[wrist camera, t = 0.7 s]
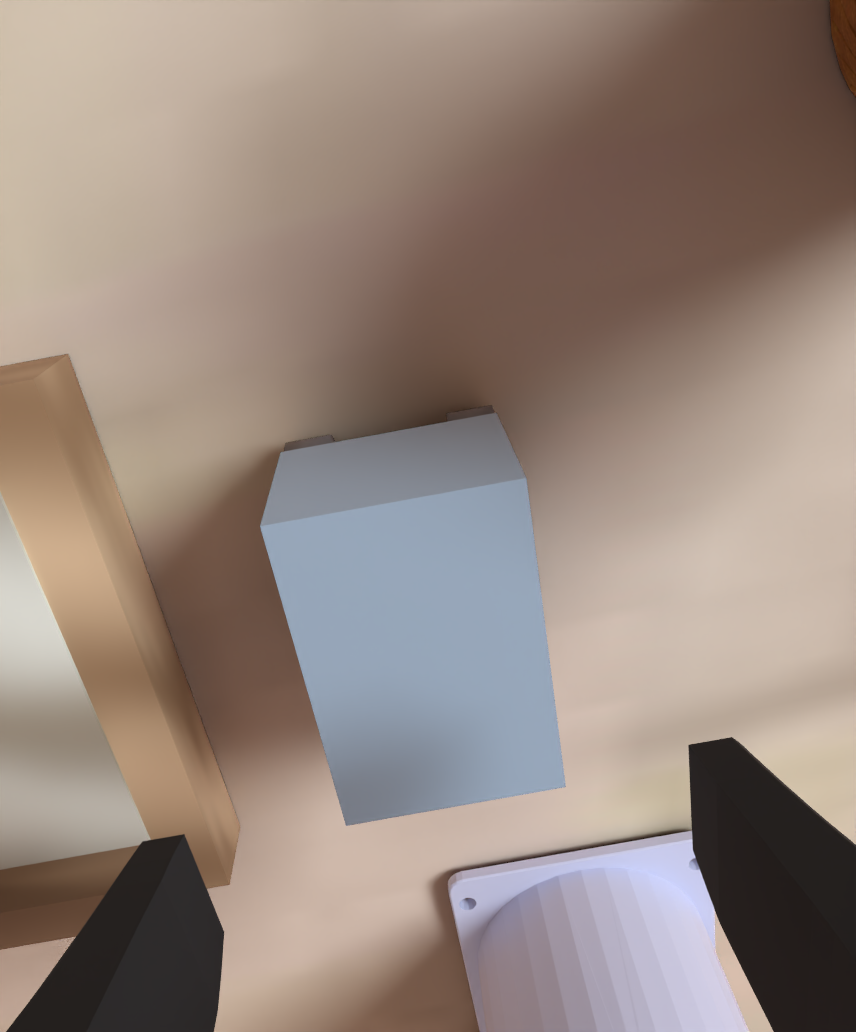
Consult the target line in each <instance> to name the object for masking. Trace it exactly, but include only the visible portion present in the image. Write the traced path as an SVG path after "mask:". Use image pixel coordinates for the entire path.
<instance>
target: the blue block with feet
mask: <svg viewBox="0 0 856 1032" xmlns="http://www.w3.org/2000/svg"><path fill="white" fill-rule="evenodd" d="M446 416H447V422H443V423H437V424H432V425H426V426H421V427H415V428H410V429H404V430H399V431H394V432H388V433H383V434H377V435H372V436H366V437H361V438H355V439H350V440H344V441H339V442H335V440H334V438H333V436H332V435H326V436H321V437H315V438H310V439H304V440H299V441H293V442H288V443H286V444H285V447H284V452H281V453H280V456H279V460H278V464H277V467H276V471H275V474H274V478H273V481H272V485H271V489H270V492H269V496H268V499H267V503H266V507H265V510H264V514H263V517H262V521H261V525H260V528H261V532H262V535H263V539H264V542H265V546H266V549H267V553H268V556H269V559H270V563H271V566H272V570H273V573H274V577H275V580H276V584H277V587H278V591H279V594H280V598H281V601H282V605H283V608H284V612H285V615H286V619H287V622H288V625H289V629H290V632H291V636H292V639H293V643H294V646H295V650H296V653H297V657H298V660H299V664H300V667H301V671H302V674H303V678H304V681H305V685H306V688H307V691H308V695H309V698H310V702H311V705H312V709H313V712H314V716H315V719H316V723H317V726H318V730H319V733H320V737H321V740H322V744H323V747H324V751H325V754H326V758H327V761H328V764H329V768H330V771H331V775H332V778H333V782H334V785H335V789H336V792H337V796H338V799H339V803H340V806H341V810H342V813H343V817H344V820H345V824H346V826H348V825H353V824H359V823H365V822H370V821H376V820H382V819H387V818H393V817H399V816H404V815H410V814H416V813H421V812H427V811H433V810H438V809H444V808H450V807H455V806H461V805H466V804H472V803H478V802H483V801H489V800H495V799H500V798H506V797H512V796H517V795H523V794H529V793H534V792H540V791H546V790H551V789H557V788H562V787H566V786H565V778H564V770H563V762H562V754H561V746H560V738H559V730H558V723H557V715H556V707H555V699H554V691H553V683H552V675H551V668H550V660H549V652H548V644H547V636H546V628H545V620H544V612H543V605H542V597H541V589H540V581H539V573H538V565H537V557H536V550H535V542H534V534H533V526H532V518H531V510H530V502H529V494H528V487H527V479H526V476H525V474H524V472H523V469H522V467H521V465H520V463H519V461H518V459H517V456H516V454H515V452H514V450H513V448H512V445H511V443H510V441H509V439H508V437H507V435H506V432H505V430H504V428H503V426H502V424H501V421H500V419H499V417H498V415H497V413H494V410H493V407H492V405H490V406H484V407H479V408H474V409H468V410H463V411H457V412H452V413H446Z"/></svg>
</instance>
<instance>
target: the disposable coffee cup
mask: <svg viewBox="0 0 856 1032" xmlns="http://www.w3.org/2000/svg"><path fill="white" fill-rule="evenodd" d="M830 16H831V34H832V39H833V43H834V47H835V51H836V54H837V58H838V62H839V66H840V70H841V72H842V74H843V76H844V78H845V80H846V83H847V85H848V87H849V89H850V90H851V92H852V93H853V94H854V96H855V97H856V0H830Z"/></svg>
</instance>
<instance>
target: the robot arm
mask: <svg viewBox="0 0 856 1032" xmlns="http://www.w3.org/2000/svg"><path fill="white" fill-rule="evenodd" d="M689 767H690V792H691V818H692V831H687V832H681V833H675V834H670V835H664V836H658V837H652V838H647V839H641V840H635V841H630V842H624V843H618V844H613V845H607V846H601V847H596V848H590V849H584V850H579V851H573V852H567V853H562V854H556V855H550V856H545V857H539V858H533V859H528V860H522V861H516V862H510V863H505V864H499V865H493V866H488V867H482V868H476V869H471V870H465V871H460V872H457V873H455V874H454V875H452V876H451V877H450V879H449V880H448V892H449V898H450V902H451V907H452V911H453V915H454V920H455V924H456V929H457V933H458V938H459V942H460V946H461V951H462V955H463V960H464V964H465V969H466V973H467V978H468V982H469V986H470V991H471V995H472V1000H473V1004H474V1009H475V1013H476V1017H477V1022H478V1026H479V1031H480V1032H749V1030H748V1027H747V1025H746V1023H745V1020H744V1018H743V1016H742V1013H741V1011H740V1008H739V1006H738V1004H737V1001H736V999H735V997H734V994H733V992H732V990H731V987H730V985H729V983H728V980H727V978H726V975H725V973H724V971H723V968H722V966H721V964H720V961H719V959H718V957H717V954H716V952H715V919H714V909H715V912H716V914H717V917H718V919H719V922H720V924H721V926H722V928H723V930H724V932H725V934H726V937H727V939H728V941H729V943H730V945H731V947H732V949H733V951H734V953H735V955H736V957H737V959H738V961H739V963H740V965H741V967H742V969H743V971H744V973H745V975H746V977H747V979H748V981H749V983H750V985H751V987H752V989H753V991H754V993H755V995H756V997H757V999H758V1001H759V1003H760V1005H761V1007H762V1009H763V1011H764V1013H765V1015H766V1017H767V1019H768V1021H769V1023H770V1025H771V1027H772V1029H773V1031H774V1032H856V845H855V844H854V843H853V842H852V841H850V840H849V839H848V838H847V837H846V836H844V835H843V834H842V833H841V832H840V831H838V830H837V829H836V828H835V827H833V826H832V825H831V824H830V823H829V822H827V821H826V820H825V819H824V818H823V817H822V816H820V815H819V814H818V813H817V812H816V811H815V810H813V809H812V808H811V807H810V806H809V805H808V804H806V803H805V802H804V801H803V800H802V799H801V798H800V797H799V796H797V795H796V794H795V793H794V792H793V791H792V790H791V789H789V788H788V787H787V786H786V785H785V784H784V783H783V782H782V781H781V780H779V779H778V778H777V777H776V776H775V775H774V774H773V773H772V772H771V771H770V770H768V769H767V768H766V767H765V766H764V765H763V764H762V763H761V762H760V761H759V760H758V759H756V758H755V757H754V756H753V755H752V754H751V753H750V752H749V751H748V750H747V749H746V748H745V747H744V746H742V745H741V744H740V743H739V742H738V741H736V740H735V739H733V738H732V737H731V738H725V739H720V740H714V741H708V742H703V743H697V744H691V745H689ZM694 858H695V859H694ZM692 859H693V860H692ZM465 898H469V899H465ZM223 940H224V931H223V928H222V926H221V923H220V921H219V918H218V916H217V913H216V911H215V909H214V906H213V904H212V901H211V899H210V896H209V894H208V891H207V889H206V886H205V884H204V881H203V879H202V876H201V874H200V871H199V869H198V867H197V864H196V862H195V859H194V857H193V854H192V852H191V849H190V847H189V844H188V842H187V839H186V837H185V834H182V835H176V836H171V837H165V838H159V839H154V840H148V841H142V843H141V844H140V845H139V847H138V848H137V849H136V851H135V852H134V854H133V855H132V857H131V858H130V859H129V861H128V862H127V864H126V865H125V866H124V868H123V869H122V871H121V872H120V874H119V875H118V877H117V878H116V880H115V881H114V882H113V884H112V885H111V887H110V888H109V890H108V891H107V893H106V894H105V896H104V897H103V899H102V900H101V901H100V903H99V904H98V906H97V907H96V909H95V910H94V912H93V913H92V915H91V916H90V917H89V919H88V920H87V922H86V923H85V925H84V926H83V928H82V929H81V930H80V932H79V933H78V935H77V936H76V938H75V939H74V940H73V942H72V943H71V945H70V946H69V947H68V949H67V950H66V952H65V953H64V954H63V956H62V957H61V959H60V960H59V961H58V963H57V964H56V966H55V967H54V968H53V970H52V971H51V973H50V974H49V975H48V977H47V978H46V980H45V981H44V982H43V984H42V985H41V987H40V988H39V989H38V991H37V992H36V993H35V995H34V996H33V997H32V999H31V1000H30V1001H29V1003H28V1004H27V1005H26V1007H25V1008H24V1009H23V1011H22V1012H21V1013H20V1014H19V1016H18V1017H17V1018H16V1020H15V1021H14V1022H13V1024H12V1025H11V1026H10V1027H9V1029H8V1030H7V1031H6V1032H214V1027H215V1022H216V1016H217V1011H218V1002H219V991H220V981H221V969H222V954H223Z"/></svg>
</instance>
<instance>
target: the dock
mask: <svg viewBox="0 0 856 1032" xmlns="http://www.w3.org/2000/svg"><path fill="white" fill-rule="evenodd" d="M239 831H240V825H239V822H238V820H237V817H236V814H235V811H234V809H233V806H232V803H231V800H230V798H229V795H228V792H227V789H226V787H225V784H224V781H223V778H222V776H221V773H220V770H219V767H218V765H217V762H216V759H215V756H214V754H213V751H212V748H211V745H210V743H209V740H208V737H207V734H206V732H205V729H204V726H203V723H202V721H201V718H200V715H199V712H198V710H197V707H196V704H195V701H194V699H193V696H192V693H191V690H190V688H189V685H188V682H187V679H186V677H185V674H184V671H183V668H182V666H181V663H180V660H179V657H178V655H177V652H176V649H175V646H174V644H173V641H172V638H171V635H170V633H169V630H168V627H167V624H166V622H165V619H164V616H163V613H162V611H161V608H160V605H159V602H158V600H157V597H156V594H155V592H154V589H153V586H152V583H151V581H150V578H149V575H148V572H147V570H146V567H145V564H144V561H143V559H142V556H141V553H140V550H139V548H138V545H137V542H136V539H135V537H134V534H133V531H132V528H131V526H130V523H129V520H128V517H127V515H126V512H125V509H124V506H123V504H122V501H121V498H120V495H119V493H118V490H117V487H116V484H115V482H114V479H113V476H112V473H111V471H110V468H109V465H108V462H107V460H106V457H105V454H104V451H103V449H102V446H101V443H100V440H99V438H98V435H97V432H96V429H95V427H94V424H93V421H92V418H91V416H90V413H89V410H88V407H87V405H86V402H85V399H84V396H83V394H82V391H81V388H80V385H79V383H78V380H77V377H76V374H75V372H74V369H73V366H72V363H71V361H70V358H69V355H68V354H65V355H60V356H55V357H49V358H44V359H38V360H33V361H28V362H22V363H17V364H11V365H6V366H1V367H0V950H1V949H7V948H12V947H18V946H24V945H29V944H35V943H41V942H46V941H52V940H58V939H63V938H69V937H75V936H77V935H78V933H79V932H80V930H81V929H82V928H83V926H84V925H85V923H86V922H87V920H88V919H89V917H90V916H91V915H92V913H93V912H94V910H95V909H96V907H97V906H98V904H99V903H100V901H101V900H102V899H103V897H104V896H105V894H106V893H107V891H108V890H109V888H110V887H111V885H112V884H113V882H114V881H115V880H116V878H117V877H118V875H119V874H120V872H121V871H122V869H123V868H124V866H125V865H126V864H127V862H128V861H129V859H130V858H131V857H132V855H133V854H134V852H135V851H136V849H137V848H138V847H139V845H140V844H141V843H142V841H148V840H154V839H159V838H165V837H171V836H176V835H182V834H185V837H186V839H187V842H188V844H189V847H190V849H191V852H192V854H193V857H194V859H195V862H196V864H197V867H198V869H199V871H200V874H201V876H202V879H203V881H204V884H205V886H206V889H207V888H213V887H218V886H224V885H230V879H231V874H232V868H233V863H234V858H235V852H236V847H237V842H238V836H239Z"/></svg>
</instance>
